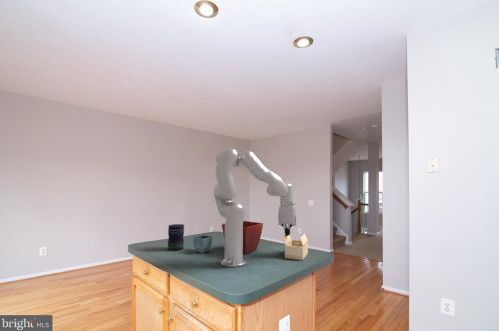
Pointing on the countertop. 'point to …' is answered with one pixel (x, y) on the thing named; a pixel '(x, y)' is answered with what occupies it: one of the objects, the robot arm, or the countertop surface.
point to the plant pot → (249, 235)
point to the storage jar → (176, 237)
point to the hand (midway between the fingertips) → (287, 235)
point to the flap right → (303, 239)
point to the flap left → (286, 238)
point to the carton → (296, 250)
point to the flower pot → (202, 243)
